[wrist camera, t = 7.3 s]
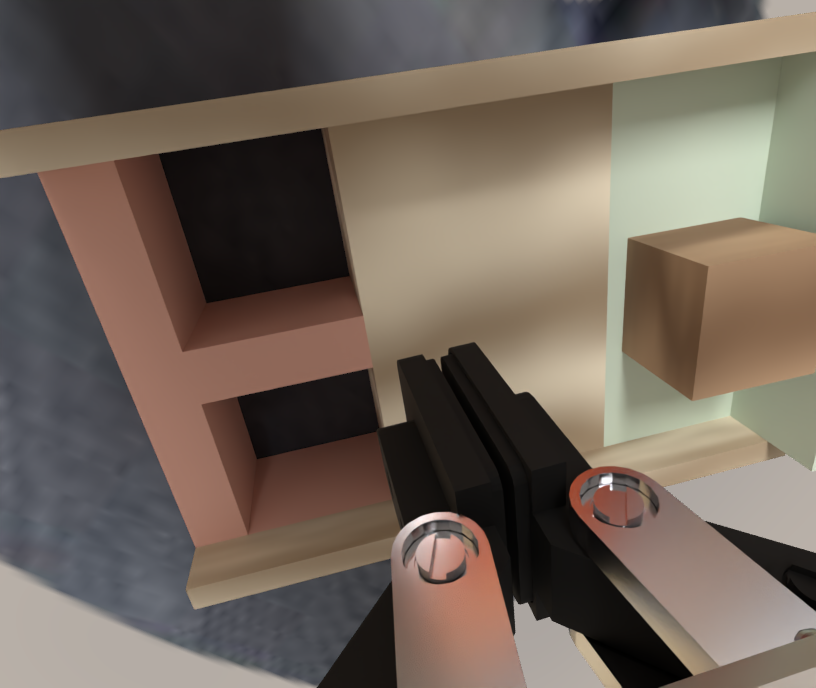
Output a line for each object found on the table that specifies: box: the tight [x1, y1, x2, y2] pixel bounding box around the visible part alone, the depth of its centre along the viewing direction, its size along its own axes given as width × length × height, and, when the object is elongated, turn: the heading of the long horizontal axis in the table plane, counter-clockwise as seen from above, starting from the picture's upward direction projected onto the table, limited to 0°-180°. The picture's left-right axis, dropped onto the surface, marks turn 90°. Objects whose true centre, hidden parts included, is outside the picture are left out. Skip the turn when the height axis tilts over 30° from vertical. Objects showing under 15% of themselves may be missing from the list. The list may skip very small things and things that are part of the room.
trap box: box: [0, 12, 816, 610], centre depth 19 cm, size 16×24×9 cm, turn 98°
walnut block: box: [622, 217, 816, 401], centre depth 18 cm, size 4×4×4 cm
